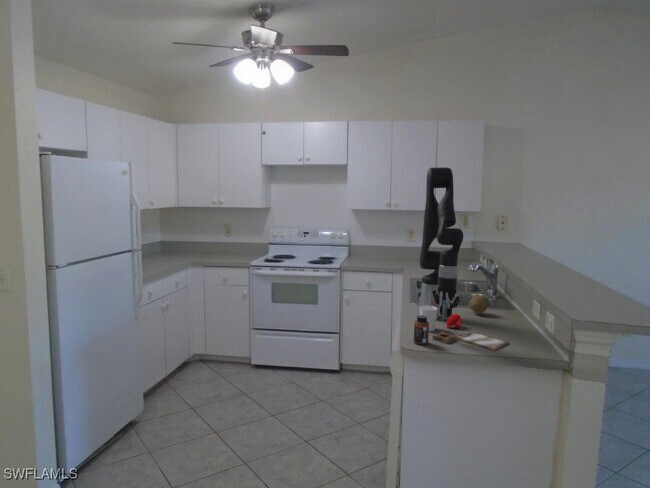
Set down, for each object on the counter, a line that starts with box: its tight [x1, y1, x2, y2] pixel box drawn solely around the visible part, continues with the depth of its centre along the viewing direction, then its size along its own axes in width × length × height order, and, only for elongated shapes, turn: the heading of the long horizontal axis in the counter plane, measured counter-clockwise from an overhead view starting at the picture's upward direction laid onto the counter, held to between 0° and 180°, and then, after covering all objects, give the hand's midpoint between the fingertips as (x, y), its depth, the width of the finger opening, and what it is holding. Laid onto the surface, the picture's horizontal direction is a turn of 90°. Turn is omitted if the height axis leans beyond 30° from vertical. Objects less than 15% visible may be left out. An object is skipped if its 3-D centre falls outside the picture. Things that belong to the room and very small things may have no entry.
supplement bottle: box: [413, 314, 430, 346], centre depth 182 cm, size 6×6×11 cm
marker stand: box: [432, 331, 457, 345], centre depth 187 cm, size 7×7×2 cm
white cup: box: [420, 306, 438, 332], centre depth 200 cm, size 8×8×10 cm
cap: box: [446, 313, 463, 329], centre depth 204 cm, size 8×6×6 cm
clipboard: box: [456, 330, 510, 352], centre depth 186 cm, size 18×13×1 cm
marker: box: [441, 300, 448, 323], centre depth 185 cm, size 3×3×9 cm
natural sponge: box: [468, 294, 488, 316], centre depth 225 cm, size 9×9×10 cm
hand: (445, 315), depth 186 cm, fingers closed on marker, 2 cm apart
